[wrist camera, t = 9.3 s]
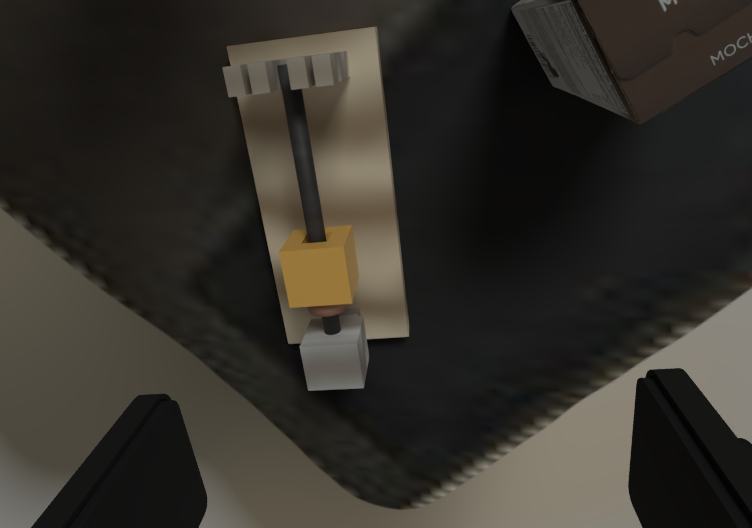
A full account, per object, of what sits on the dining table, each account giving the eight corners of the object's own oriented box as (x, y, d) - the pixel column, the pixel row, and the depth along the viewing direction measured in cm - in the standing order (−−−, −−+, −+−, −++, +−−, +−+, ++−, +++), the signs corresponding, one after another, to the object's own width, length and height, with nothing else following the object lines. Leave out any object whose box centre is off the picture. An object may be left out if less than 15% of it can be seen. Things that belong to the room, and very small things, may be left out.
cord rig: (233, 45, 37) (182, 48, 29) (377, 27, 36) (363, 24, 28) (292, 335, 46) (265, 397, 38) (409, 328, 44) (406, 391, 37)
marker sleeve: (293, 230, 38) (278, 252, 34) (351, 225, 37) (343, 246, 33) (303, 281, 39) (289, 307, 35) (359, 277, 39) (352, 303, 35)
